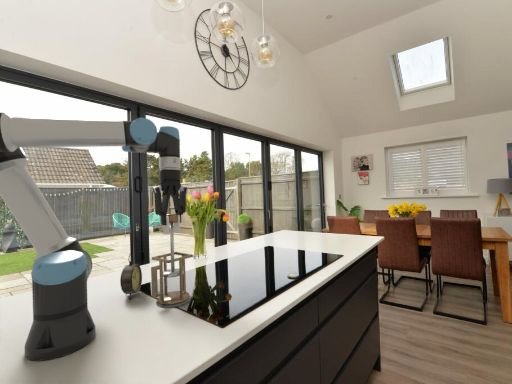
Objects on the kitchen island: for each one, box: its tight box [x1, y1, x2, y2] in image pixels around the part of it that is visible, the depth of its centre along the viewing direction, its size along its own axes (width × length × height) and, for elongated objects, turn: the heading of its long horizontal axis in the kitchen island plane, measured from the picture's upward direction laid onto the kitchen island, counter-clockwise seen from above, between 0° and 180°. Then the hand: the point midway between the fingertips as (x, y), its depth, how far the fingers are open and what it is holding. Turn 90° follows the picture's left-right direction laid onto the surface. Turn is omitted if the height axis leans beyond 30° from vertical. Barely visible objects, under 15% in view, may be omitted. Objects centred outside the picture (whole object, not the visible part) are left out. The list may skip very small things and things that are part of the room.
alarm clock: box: [119, 253, 143, 300], centre depth 103 cm, size 11×5×16 cm, turn 5°
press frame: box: [150, 251, 194, 309], centre depth 96 cm, size 14×12×16 cm
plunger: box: [163, 213, 184, 278], centre depth 97 cm, size 8×8×22 cm
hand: (171, 233), depth 97 cm, fingers closed on plunger, 4 cm apart
